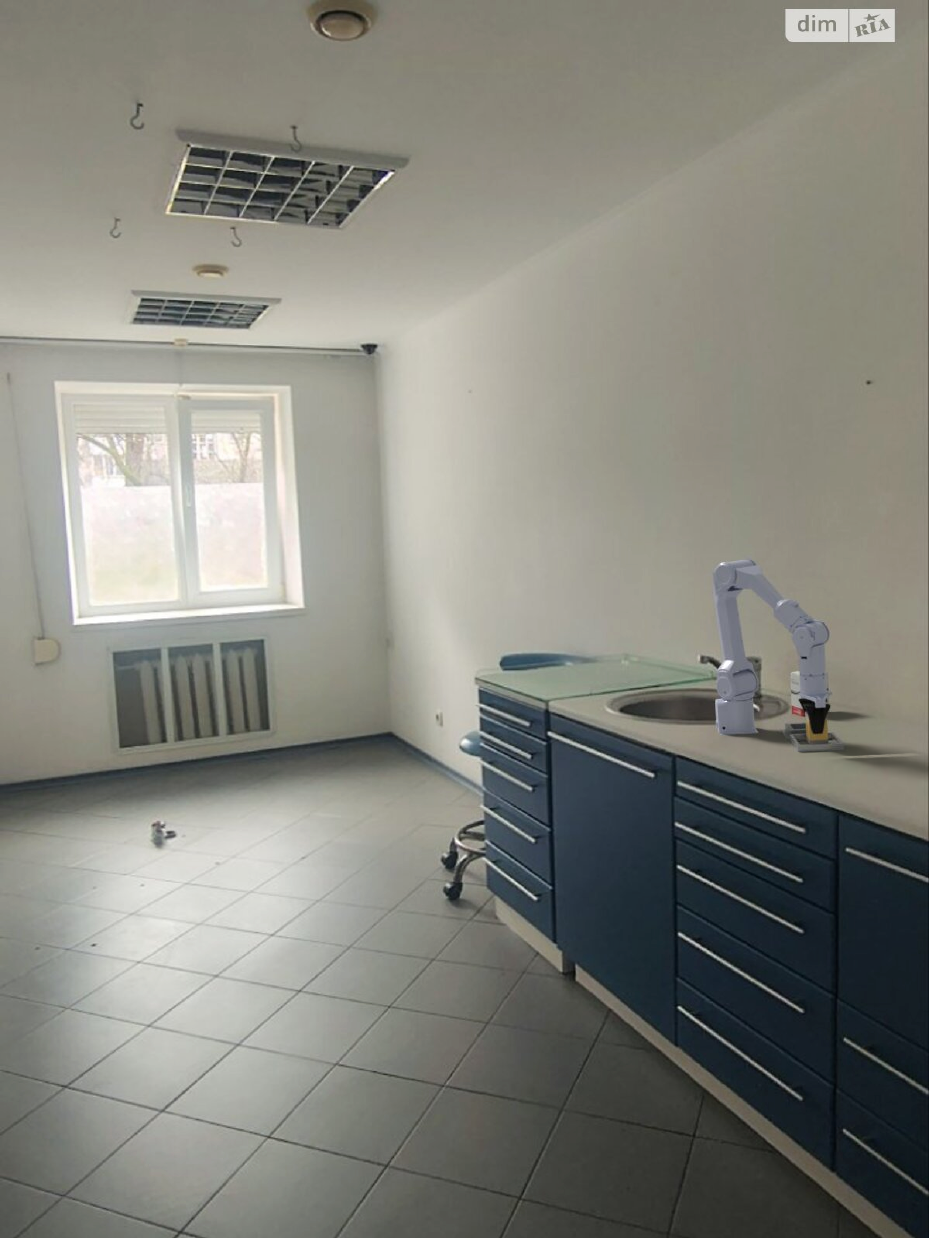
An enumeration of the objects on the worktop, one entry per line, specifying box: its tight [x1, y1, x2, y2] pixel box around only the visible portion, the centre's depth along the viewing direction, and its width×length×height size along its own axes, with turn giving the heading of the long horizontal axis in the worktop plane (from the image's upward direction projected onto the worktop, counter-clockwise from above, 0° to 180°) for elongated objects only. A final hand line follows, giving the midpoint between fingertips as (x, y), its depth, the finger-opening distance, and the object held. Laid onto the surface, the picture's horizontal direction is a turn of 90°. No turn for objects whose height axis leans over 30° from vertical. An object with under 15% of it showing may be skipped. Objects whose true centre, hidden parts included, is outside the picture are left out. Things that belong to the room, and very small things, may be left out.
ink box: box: [790, 670, 830, 717], centre depth 233 cm, size 8×5×12 cm, turn 103°
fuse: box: [804, 711, 829, 745], centre depth 204 cm, size 4×4×7 cm
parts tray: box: [789, 732, 845, 753], centre depth 204 cm, size 10×10×2 cm
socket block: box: [780, 721, 806, 740], centre depth 215 cm, size 9×9×2 cm
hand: (815, 730), depth 204 cm, fingers closed on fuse, 4 cm apart
